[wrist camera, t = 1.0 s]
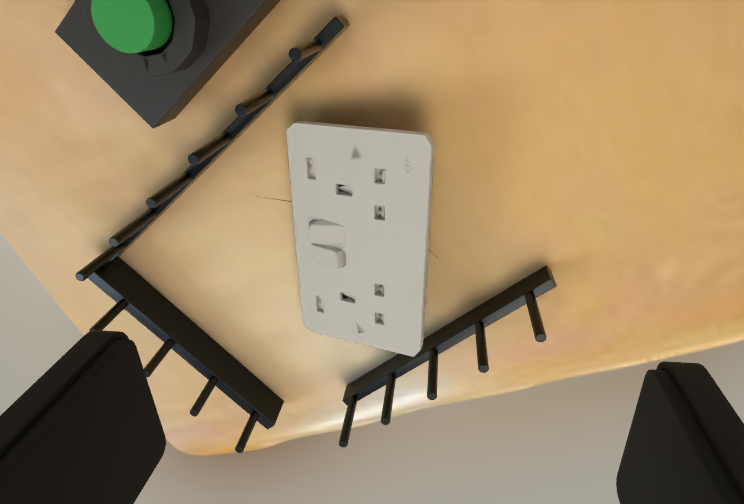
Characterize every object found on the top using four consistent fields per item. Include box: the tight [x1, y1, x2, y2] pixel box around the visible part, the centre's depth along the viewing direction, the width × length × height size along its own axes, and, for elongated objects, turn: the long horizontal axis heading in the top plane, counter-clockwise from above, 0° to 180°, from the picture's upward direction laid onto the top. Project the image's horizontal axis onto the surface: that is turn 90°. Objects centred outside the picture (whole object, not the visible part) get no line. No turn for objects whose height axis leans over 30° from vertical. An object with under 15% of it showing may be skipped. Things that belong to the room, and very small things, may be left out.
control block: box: [55, 0, 280, 128], centre depth 30 cm, size 12×8×5 cm, turn 132°
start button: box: [91, 0, 172, 53], centre depth 28 cm, size 4×4×2 cm
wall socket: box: [257, 121, 444, 357], centre depth 37 cm, size 18×15×4 cm
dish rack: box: [76, 15, 556, 453], centre depth 37 cm, size 28×24×7 cm
